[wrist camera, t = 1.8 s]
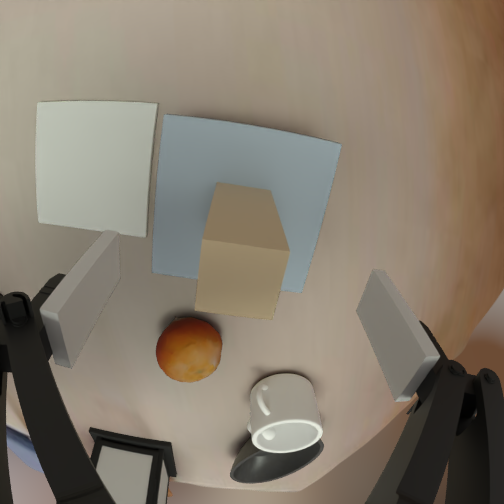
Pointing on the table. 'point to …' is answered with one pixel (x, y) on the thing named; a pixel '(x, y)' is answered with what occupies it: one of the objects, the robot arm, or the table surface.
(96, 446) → the lantern
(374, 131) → the table surface
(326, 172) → the lid
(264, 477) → the bowl
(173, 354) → the fruit
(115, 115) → the mat
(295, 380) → the mug
